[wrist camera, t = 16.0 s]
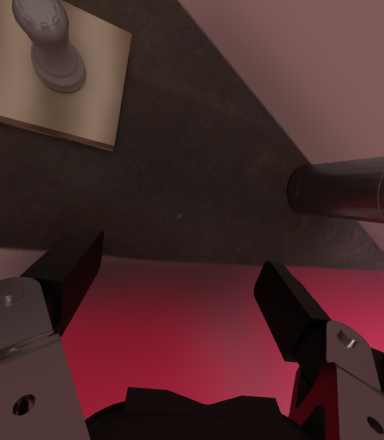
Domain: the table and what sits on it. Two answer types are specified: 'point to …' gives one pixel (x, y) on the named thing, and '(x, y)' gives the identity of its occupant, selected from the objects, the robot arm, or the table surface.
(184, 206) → the table surface
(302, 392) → the robot arm
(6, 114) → the maple plinth
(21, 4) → the rook chess piece
